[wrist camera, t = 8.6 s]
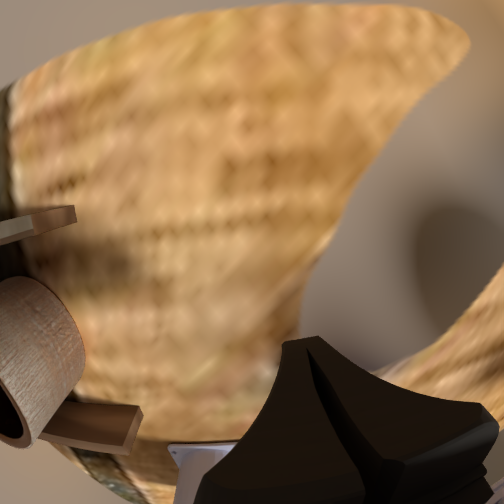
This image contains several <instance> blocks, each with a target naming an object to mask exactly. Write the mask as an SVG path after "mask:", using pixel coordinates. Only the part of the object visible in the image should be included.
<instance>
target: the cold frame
mask: <svg viewBox="0 0 504 504" xmlns="http://www.w3.org/2000/svg"><path fill="white" fill-rule="evenodd" d="M75 222H77V219H76V214H75V208H74V205H73V206H68V207H63V208H58V209H53V210H48V211H44V212H39V213H35V214H30V215H26V216H22V217H18V218H14V219H10V220H6V221H2V222H0V246H1V245H4V244H7V243H11V242H14V241H17V240H21V239H24V238H28V237H31V236H35V235H38V234H41V233H44V232H47V231H50V230H53V229H56V228H59V227H62V226H66V225H69V224H72V223H75ZM143 416H144V415H143V413H142V411H141V409H140V407H139V406H119V405H102V404H89V403H78V402H69V401H63V402H62V404H61V405H60V406H59V408H58V409H57V410H56V412H55V413H54V414H53V416H52V417H51V419H50V420H49V421H48V423H47V424H46V426H45V427H44V429H43V430H42V431H41V433H40V434H39V436H38V437H37V438H38V439H42V440H45V441H49V442H53V443H57V444H62V445H66V446H71V447H75V448H80V449H86V450H91V451H97V452H104V453H111V454H119V455H127V456H129V454H130V451H131V448H132V445H133V443H134V440H135V437H136V435H137V432H138V429H139V427H140V424H141V421H142V419H143Z"/></svg>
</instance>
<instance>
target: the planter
mask: <svg viewBox="0 0 504 504" xmlns="http://www.w3.org/2000/svg"><path fill="white" fill-rule="evenodd" d="M84 367H85V350H84V345H83V341H82V338H81V335H80V333H79V330H78V328H77V326H76V324H75V322H74V320H73V318H72V317H71V315H70V313H69V312H68V310H67V309H66V308H65V306H64V305H63V304H62V302H61V301H60V300H59V299H58V298H57V297H56V296H55V294H53V293H52V292H51V291H50V290H49V289H48V288H47V287H45V286H44V285H43V284H41V283H40V282H38V281H36V280H34V279H32V278H29V277H25V276H14V277H10V278H7V279H5V280H3V281H1V282H0V440H1V441H2V442H4V443H6V444H8V445H10V446H12V447H15V448H19V449H28V448H30V447H31V446H32V445H33V443H34V442H35V440H36V439H37V437H38V436H39V434H40V433H41V431H42V430H43V429H44V427H45V426H46V424H47V423H48V421H49V420H50V419H51V417H52V416H53V414H54V413H55V412H56V410H57V409H58V408H59V406H60V405H61V404H62V402H63V401H64V400H65V398H66V397H67V396H68V394H69V393H70V392H71V390H72V389H73V388H74V386H75V385H76V384H77V382H78V381H79V379H80V378H81V375H82V373H83V371H84Z"/></svg>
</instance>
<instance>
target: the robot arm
mask: <svg viewBox="0 0 504 504" xmlns="http://www.w3.org/2000/svg"><path fill="white" fill-rule="evenodd" d="M499 427H500V426H499V424H498V422H497V421H496V420H495V419H494V418H493V416H492V415H491V414H490V413H489V412H488V411H487V410H486V409H485V407H484V406H483V405H482V404H480V403H475V402H463V401H453V400H446V399H441V398H436V397H431V396H427V395H423V394H419V393H416V392H413V391H410V390H407V389H404V388H401V387H398V386H396V385H393V384H391V383H389V382H387V381H384V380H382V379H380V378H378V377H376V376H374V375H372V374H370V373H369V372H367V371H365V370H364V369H362V368H360V367H359V366H357V365H356V364H354V363H353V362H351V361H350V360H349V359H347V358H346V357H344V356H343V355H342V354H340V353H339V352H338V351H337V350H335V349H334V348H333V347H332V346H330V345H329V344H328V343H327V342H326V341H324V340H323V339H322V338H321V337H319V336H314V337H308V338H303V339H297V340H291V341H285V342H284V343H283V344H282V356H281V362H280V366H279V369H278V373H277V376H276V379H275V382H274V384H273V387H272V389H271V392H270V394H269V396H268V398H267V400H266V402H265V404H264V406H263V408H262V410H261V411H260V413H259V415H258V416H257V418H256V419H255V421H254V422H253V424H252V425H251V427H250V428H249V429H248V431H247V432H246V433H245V435H244V436H243V437H242V438H241V439H240V440H239V441H238V442H229V443H211V444H169V445H168V450H169V452H170V454H171V456H172V458H173V459H174V461H175V463H176V464H177V466H178V468H179V469H180V470H179V475H178V480H177V486H176V491H175V497H174V502H173V504H504V478H502V479H501V480H499V481H498V482H496V483H495V484H494V485H492V486H491V487H490V485H489V484H488V482H487V481H486V479H485V478H484V476H485V475H486V473H487V470H486V468H485V467H484V465H483V464H482V463H483V461H484V459H485V458H486V456H487V455H488V453H489V451H490V450H491V448H492V446H493V445H494V443H495V441H496V439H497V437H498V433H499Z"/></svg>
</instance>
